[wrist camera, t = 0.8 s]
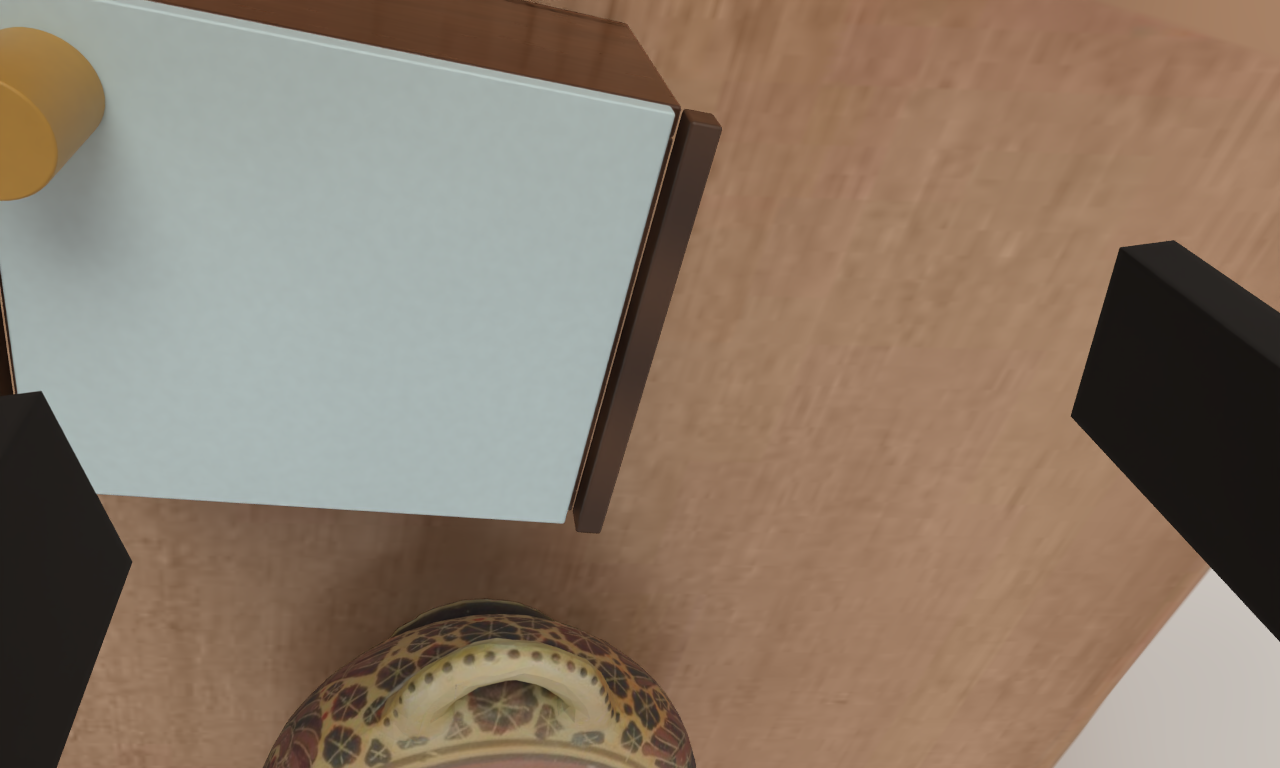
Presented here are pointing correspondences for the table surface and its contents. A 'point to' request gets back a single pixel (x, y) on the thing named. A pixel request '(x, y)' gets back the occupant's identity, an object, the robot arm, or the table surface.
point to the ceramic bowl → (486, 700)
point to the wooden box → (555, 52)
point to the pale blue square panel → (311, 260)
